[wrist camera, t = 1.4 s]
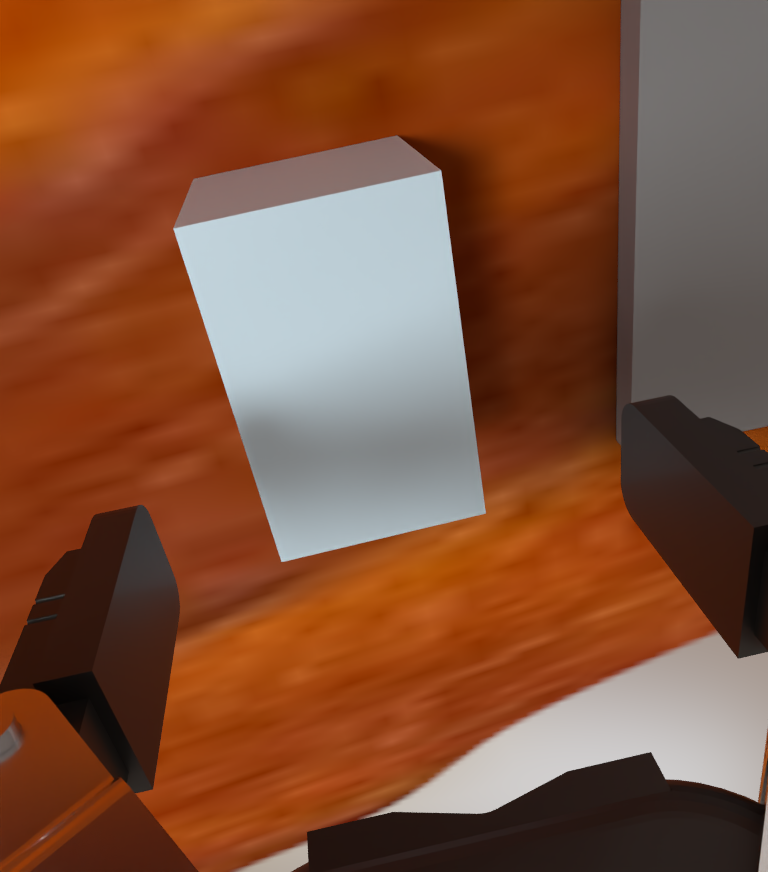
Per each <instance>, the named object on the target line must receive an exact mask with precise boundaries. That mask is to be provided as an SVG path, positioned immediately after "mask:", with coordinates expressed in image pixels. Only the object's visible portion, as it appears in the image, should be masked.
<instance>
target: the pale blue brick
mask: <svg viewBox="0 0 768 872" xmlns="http://www.w3.org/2000/svg"><path fill="white" fill-rule="evenodd" d="M173 229H174V232H175V235H176V238H177V241H178V244H179V247H180V250H181V253H182V256H183V260H184V263H185V266H186V269H187V272H188V275H189V278H190V281H191V284H192V287H193V290H194V293H195V296H196V300H197V303H198V306H199V309H200V312H201V315H202V318H203V321H204V324H205V327H206V330H207V333H208V337H209V340H210V343H211V346H212V349H213V352H214V355H215V358H216V361H217V364H218V367H219V370H220V373H221V377H222V380H223V383H224V386H225V389H226V392H227V395H228V398H229V401H230V404H231V407H232V410H233V413H234V417H235V420H236V423H237V426H238V429H239V432H240V435H241V438H242V441H243V444H244V447H245V450H246V454H247V457H248V460H249V463H250V466H251V469H252V472H253V475H254V478H255V481H256V484H257V487H258V490H259V494H260V497H261V500H262V503H263V506H264V509H265V512H266V515H267V518H268V521H269V524H270V527H271V531H272V534H273V537H274V540H275V543H276V546H277V549H278V552H279V555H280V558H281V561H282V562H284V561H288V560H292V559H296V558H301V557H305V556H309V555H313V554H317V553H322V552H326V551H330V550H334V549H338V548H343V547H347V546H351V545H355V544H359V543H364V542H368V541H372V540H376V539H380V538H385V537H389V536H393V535H397V534H401V533H406V532H410V531H414V530H418V529H422V528H427V527H431V526H435V525H439V524H443V523H448V522H452V521H456V520H460V519H464V518H469V517H473V516H477V515H481V514H485V513H486V512H485V504H484V497H483V489H482V481H481V473H480V466H479V458H478V450H477V442H476V435H475V427H474V419H473V412H472V404H471V396H470V388H469V381H468V373H467V365H466V358H465V350H464V342H463V334H462V327H461V319H460V311H459V303H458V296H457V288H456V280H455V273H454V265H453V257H452V249H451V242H450V234H449V226H448V219H447V211H446V203H445V195H444V188H443V180H442V172H441V170H440V169H439V168H438V167H436V166H435V165H434V164H433V163H431V162H430V161H429V160H428V159H426V158H425V157H424V156H422V155H421V154H420V153H419V152H417V151H416V150H415V149H414V148H412V147H411V146H410V145H409V144H407V143H406V142H405V141H404V140H402V139H401V138H400V137H399V136H393V137H388V138H383V139H379V140H374V141H369V142H365V143H360V144H355V145H351V146H346V147H341V148H337V149H332V150H327V151H323V152H318V153H313V154H309V155H304V156H299V157H295V158H290V159H285V160H281V161H276V162H271V163H267V164H262V165H257V166H253V167H248V168H243V169H238V170H234V171H229V172H224V173H220V174H215V175H210V176H206V177H201V178H196V179H193V182H192V184H191V187H190V189H189V191H188V194H187V196H186V199H185V201H184V204H183V206H182V209H181V211H180V214H179V216H178V219H177V221H176V223H175V226H174V228H173Z"/></svg>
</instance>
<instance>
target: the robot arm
mask: <svg viewBox="0 0 768 872" xmlns="http://www.w3.org/2000/svg"><path fill="white" fill-rule="evenodd" d="M621 488H622V494H623V498H624V501H625V504H626V507H627V509H628V511H629V513H630V515H631V517H632V518H633V520H634V521H635V522H636V524H637V525H638V526H639V528H640V529H641V530H642V532H643V533H644V534H645V536H646V537H647V538H648V540H649V541H650V542H651V544H652V545H653V546H654V548H655V549H656V550H657V552H658V553H659V554H660V556H661V557H662V558H663V560H664V561H665V562H666V564H667V565H668V566H669V568H670V569H671V570H672V572H673V573H674V574H675V576H676V577H677V578H678V580H679V581H680V582H681V583H682V585H683V586H684V587H685V589H686V590H687V591H688V593H689V594H690V595H691V597H692V598H693V599H694V601H695V602H696V603H697V605H698V606H699V607H700V609H701V610H702V611H703V613H704V614H705V615H706V617H707V618H708V619H709V621H710V622H711V623H712V625H713V626H714V627H715V629H716V630H717V631H718V633H719V634H720V635H721V637H722V638H723V639H724V641H725V642H726V643H727V645H728V646H729V647H730V648H731V650H732V651H733V652H734V654H735V655H736V656H737V658H742V657H747V656H751V655H756V654H760V653H764V652H768V453H767V452H766V451H765V450H760V446H759V445H758V444H756V443H755V442H754V441H753V440H752V439H750V438H749V437H748V436H747V435H746V434H744V433H743V432H742V431H741V430H740V429H738V428H735V427H733V426H730V425H728V424H726V423H723V422H721V421H718V420H716V419H713V418H711V417H706V418H701V419H700V418H699V417H698V416H696V415H695V414H694V413H693V412H692V411H691V410H690V409H689V408H687V407H686V406H685V405H684V404H683V403H682V402H681V401H680V400H678V399H677V398H676V397H675V396H672V395H667V396H662V397H657V398H653V399H648V400H643V401H638V402H634V403H629V404H626V405H625V406H624V408H623V411H622V417H621ZM35 601H36V604H35V605H33V606H32V609H31V611H30V614H29V616H28V619H27V623H28V624H27V625H25V626H24V628H23V631H22V633H21V636H20V638H19V640H18V643H17V645H16V648H15V650H14V653H13V655H12V657H11V660H10V662H9V665H8V667H7V670H6V672H5V674H4V677H3V679H2V682H1V684H0V872H198V870H197V869H196V868H195V867H194V866H193V864H192V863H191V862H190V861H189V859H188V858H187V857H186V856H185V854H184V853H183V852H182V851H181V850H180V848H179V847H178V846H177V845H176V843H175V842H174V841H173V840H172V838H171V837H170V836H169V835H168V834H167V832H166V831H165V830H164V829H163V827H162V826H161V825H160V824H159V822H158V821H157V820H156V819H155V818H154V816H153V815H152V814H151V813H150V811H149V810H148V809H147V808H146V806H145V805H144V804H143V803H142V802H141V800H140V799H139V798H138V797H137V795H136V794H135V793H139V792H143V791H148V790H152V789H153V785H154V779H155V772H156V765H157V759H158V752H159V746H160V739H161V733H162V726H163V719H164V713H165V706H166V700H167V693H168V687H169V680H170V673H171V667H172V660H173V654H174V647H175V641H176V634H177V627H178V621H179V613H180V603H179V594H178V588H177V584H176V580H175V577H174V574H173V572H172V569H171V567H170V564H169V562H168V559H167V557H166V554H165V552H164V549H163V547H162V544H161V542H160V539H159V537H158V534H157V532H156V529H155V526H154V524H153V521H152V519H151V517H150V514H149V512H148V511H147V509H146V508H145V507H144V506H143V505H138V506H133V507H128V508H124V509H119V510H114V511H109V512H105V513H100V514H96V515H94V517H93V518H92V520H91V523H90V526H89V529H88V531H87V534H86V537H85V540H84V542H83V545H82V548H81V549H77V550H72V551H68V552H66V553H65V554H64V555H63V557H62V558H61V559H60V560H59V561H58V562H57V563H56V564H55V565H54V566H53V568H52V569H51V570H50V571H49V572H48V573H47V574H46V575H45V577H44V580H43V582H42V585H41V587H40V589H39V592H38V594H37V597H36V599H35ZM307 839H308V859H309V862H308V863H306V864H304V865H303V866H301V867H299V868H297V869H296V870H294V871H292V872H768V730H767V738H766V745H765V753H764V761H763V769H762V777H761V784H760V791H759V798H758V802H756V801H754V800H751V799H749V798H747V797H745V796H742V795H739V794H737V793H734V792H731V791H728V790H725V789H722V788H718V787H714V786H710V785H706V784H701V783H696V782H689V781H681V780H665V778H664V776H663V774H662V772H661V770H660V768H659V766H658V765H657V763H656V761H655V759H654V757H653V756H652V753H651V752H650V753H646V754H641V755H637V756H633V757H628V758H624V759H620V760H615V761H611V762H607V763H602V764H598V765H594V766H590V767H585V768H581V769H576V770H572V771H568V772H566V773H564V774H562V775H560V776H559V777H556V778H555V779H553V780H551V781H549V782H547V783H545V784H543V785H541V786H539V787H538V788H536V789H534V790H532V791H530V792H528V793H526V794H524V795H522V796H521V797H519V798H517V799H515V800H513V801H511V802H509V803H507V804H505V805H503V806H502V807H500V808H498V809H496V810H493V811H491V812H488V813H483V814H459V813H458V814H457V813H456V814H455V813H411V812H410V813H409V812H391V813H387V814H383V815H378V816H374V817H370V818H365V819H361V820H357V821H352V822H348V823H344V824H340V825H335V826H331V827H327V828H322V829H318V830H314V831H309V832H307Z"/></svg>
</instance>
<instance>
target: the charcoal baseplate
mask: <svg viewBox="0 0 768 872" xmlns="http://www.w3.org/2000/svg"><path fill="white" fill-rule="evenodd" d="M667 395H672V396H675V397H676V398H677V399H678V400H680V401H681V402H682V403H683V404H684V405H685V406H686V407H687V408H689V409H690V410H691V411H692V412H693V413H694V414H695V415H696V416H698V417H699V418H700V419H701V418H706V417H711V418H713V419H716V420H718V421H721V422H723V423H726V424H728V425H730V426H733V427H735V428H738V429H740V430H741V431H742V432H743V431H747V430H752V429H756V428H761V427H766V426H768V0H621V59H620V145H619V231H618V317H617V403H616V440H617V442H618V443H619V444H620V445H621V417H622V411H623V408H624V406H625V405H626V404H629V403H634V402H638V401H643V400H648V399H653V398H657V397H662V396H667Z"/></svg>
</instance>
